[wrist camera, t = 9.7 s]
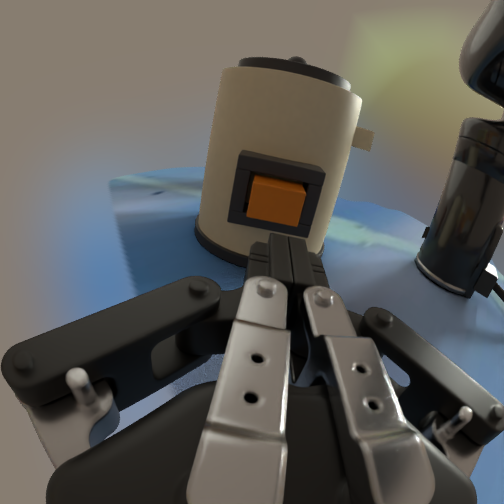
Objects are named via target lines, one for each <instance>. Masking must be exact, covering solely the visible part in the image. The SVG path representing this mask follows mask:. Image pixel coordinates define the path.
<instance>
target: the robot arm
mask: <svg viewBox="0 0 504 504" xmlns="http://www.w3.org/2000/svg"><path fill="white" fill-rule="evenodd" d="M459 69H460V74H461V77H462V79H463V81H464V83H465V84H466V85H467V86H468V87H469V88H470V89H472V90H473V91H475V92H476V93H478V94H479V95H481V96H483V97H485V98H487V99H489V100H490V101H492V102H494V103H496V104H498V105H499V106H501V107H503V108H504V0H491V1H490V3H489V4H488V6H487V7H486V9H485V11H484V12H483V14H482V15H481V16H480V18H479V19H478V21H477V22H476V24H475V25H474V26H473V28H472V30H471V31H470V33H469V34H468V36H467V38H466V40H465V42H464V44H463V47H462V50H461V54H460V59H459ZM503 221H504V112H503V115H502V118H501V119H499V120H488V119H482V118H473V117H472V118H466V119H464V120H463V122H462V124H461V128H460V133H459V138H458V141H457V145H456V149H455V152H454V156H453V160H452V163H451V167H450V170H449V173H448V176H447V180H446V183H445V186H444V189H443V192H442V195H441V198H440V201H439V203H438V206H437V209H436V212H435V214H434V217H433V220H432V222H431V225H430V227H426V229H425V231H424V234H423V236H422V238H425V240H424V242H423V244H422V246H421V248H420V251H419V252H418V254H417V256H416V258H415V262H416V264H417V266H418V268H419V269H420V270H421V271H422V272H423V273H424V274H425V275H426V276H427V277H428V278H430V279H431V280H432V281H434V282H435V283H436V284H438V285H440V286H441V287H443V288H445V289H447V290H449V291H451V292H454V293H457V294H461V295H464V296H466V297H468V298H469V299H470V298H471V296H472V295H473V293H474V291H477V292H478V293H480V294H481V295H483V296H485V297H486V298H488V296H489V294H490V292H491V291H492V289H493V290H494V291H495V292H496V294H497V295H498V296H499V297H500V298H501V299H502V301H503V302H504V290H503V289H502V288H501V287H500V286H499V285H498V283H497V282H496V281H497V280H498V276H497V272H496V268H495V267H494V266H492V265H490V264H489V262H490V260H491V258H492V256H493V254H494V251H495V249H496V247H497V244H498V242H499V240H500V237H501V235H502V233H503V228H502V227H501V226H502V223H503ZM213 354H225V355H224V358H223V362H222V366H221V369H220V373H219V376H218V380H217V381H210V382H206V383H202V384H199V385H196V386H193V387H191V388H189V389H186V390H184V391H183V392H181V393H179V394H178V395H176V396H175V397H173V398H172V399H170V400H169V401H167V402H166V403H164V404H163V405H161V406H160V407H158V408H157V409H155V410H154V411H152V412H150V413H149V414H147V415H146V416H144V417H143V418H141V419H139V420H138V421H136V422H134V423H133V424H131V425H129V426H128V427H126V428H125V429H123V430H121V431H120V432H118V433H116V434H114V435H113V436H111V437H109V438H107V439H106V440H104V439H105V438H106V437H107V436H109V435H110V434H111V433H113V432H114V431H115V429H116V428H117V427H118V425H119V421H120V414H119V412H120V411H122V410H124V409H125V408H127V407H129V406H131V405H133V404H135V403H136V402H138V401H140V400H142V399H144V398H146V397H147V396H149V395H151V394H153V393H155V392H156V391H158V390H160V389H162V388H163V387H165V386H167V385H168V384H170V383H172V382H174V381H175V380H177V379H179V378H180V377H182V376H184V375H185V374H187V373H189V372H190V371H192V370H194V369H195V368H197V367H198V366H200V365H202V364H203V363H205V362H206V361H208V360H209V359H210V358H211V356H212V355H213ZM384 354H385V355H386V356H387V357H388V358H389V359H391V360H392V361H393V362H394V363H395V364H396V365H398V366H399V367H400V368H401V369H402V370H404V371H405V372H406V373H407V374H408V375H409V377H410V385H409V386H407V387H402V386H400V385H398V384H397V383H396V382H395V381H394V380H393V379H392V378H390V377H389V376H388V374H387V371H386V369H385V366H384V364H383V362H382V359H381V358H382V357H383V355H384ZM1 371H2V375H3V376H4V378H5V379H6V381H7V383H8V384H9V386H10V387H11V389H12V390H13V391H14V393H15V395H16V397H17V399H18V400H19V402H20V403H21V404H22V405H23V407H24V408H25V409H26V410H27V412H28V414H29V417H30V419H31V421H32V424H33V426H34V428H35V430H36V433H37V435H38V437H39V439H40V441H41V443H42V445H43V447H44V449H45V451H46V453H47V455H48V457H49V458H50V460H51V462H52V464H53V466H54V467H55V469H56V470H55V472H54V473H53V475H52V476H51V478H50V480H49V483H48V486H47V490H46V504H477V495H476V490H475V487H474V485H473V483H472V481H471V480H470V476H471V474H472V472H473V470H474V467H475V465H476V463H477V461H478V459H479V456H480V454H481V452H482V449H483V447H484V446H485V445H486V444H488V443H489V442H490V441H491V440H493V439H494V438H495V437H496V436H498V435H499V434H500V433H501V432H502V431H503V430H504V406H503V405H502V404H501V403H500V402H499V401H498V400H497V399H496V398H495V397H493V396H492V395H491V394H490V393H489V392H488V391H487V390H485V389H484V388H483V387H482V386H481V385H480V384H478V383H477V382H476V381H475V380H474V379H472V378H471V377H470V376H469V375H468V374H467V373H465V372H464V371H463V370H462V369H461V368H459V367H458V366H457V365H456V364H455V363H453V362H452V361H451V360H450V359H448V358H447V357H446V356H445V355H444V354H442V353H441V352H440V351H439V350H437V349H436V348H435V347H434V346H432V345H431V344H430V343H429V342H427V341H426V340H425V339H424V338H422V337H421V336H420V335H419V334H417V333H416V332H415V331H414V330H412V329H411V328H410V327H409V326H407V325H406V324H405V323H403V322H402V321H401V320H400V319H398V318H397V317H396V316H394V315H393V314H392V313H390V312H389V311H387V310H385V309H382V308H378V307H371V308H368V309H367V310H366V312H365V314H364V316H362V315H359V314H356V313H354V312H351V311H349V310H346V308H345V305H344V303H343V300H342V299H341V297H340V296H339V295H338V294H337V293H336V292H334V291H333V290H331V289H330V288H329V284H328V281H327V277H326V274H325V271H324V268H323V264H322V261H321V259H320V258H319V257H318V256H317V255H316V254H315V253H314V252H309V251H308V249H307V245H306V241H305V239H300V238H296V237H291V236H288V237H287V236H285V235H280V234H275V233H270V235H269V239H268V243H263V242H258V241H256V242H255V243H254V244H253V245H251V247H250V252H249V257H248V262H247V266H246V271H245V276H244V283H243V286H242V287H240V288H238V289H235V290H230V291H221V288H220V286H219V285H218V284H217V283H216V282H215V281H213V280H211V279H209V278H206V277H201V276H190V277H186V278H183V279H180V280H178V281H175V282H173V283H170V284H168V285H165V286H162V287H160V288H157V289H155V290H152V291H150V292H147V293H145V294H142V295H140V296H137V297H134V298H132V299H129V300H127V301H124V302H122V303H119V304H117V305H114V306H112V307H109V308H106V309H104V310H101V311H99V312H97V313H94V314H91V315H89V316H86V317H84V318H81V319H79V320H76V321H74V322H71V323H68V324H66V325H64V326H61V327H58V328H56V329H53V330H51V331H48V332H46V333H43V334H40V335H38V336H35V337H33V338H30V339H28V340H25V341H23V342H20V343H18V344H16V345H14V346H12V347H11V348H10V349H9V350H8V351H7V352H6V353H5V355H4V357H3V359H2V363H1Z"/></svg>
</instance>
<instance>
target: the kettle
mask: <svg viewBox="0 0 504 504" xmlns="http://www.w3.org/2000/svg"><path fill="white" fill-rule="evenodd" d="M350 87H351V85H350V83H349V82H348V81H347V80H345V79H344V78H342V77H340V76H338V75H336V74H334V73H331V72H329V71H326V70H324V69H321V68H318V67H315V66H311V65H308V64H307V63H306V61H305V60H304V59H303V58H301V57H297V56H296V57H291V58H290V59H288V60H284V59H277V58H268V57H249V58H243V59H241V60H240V61H239V65H238V67H229V68H225V69H223V71H222V76H221V81H220V86H219V91H218V96H217V101H216V107H215V112H214V119H213V125H212V130H211V135H210V142H209V148H208V155H207V161H206V167H205V174H204V181H203V188H202V196H201V204H200V211H199V215H198V216H197V218H196V220H195V229H194V232H195V236H196V238H197V240H198V241H199V242H200V244H201V245H202V246H203V247H204V248H205V249H207V250H208V251H209V252H211V253H212V254H214V255H216V256H217V257H219V258H221V259H223V260H225V261H228V262H230V263H233V264H236V265H239V266H242V267H245V268H246V266H247V262H248V257H249V252H250V247H251V245H253V244H254V243H255V242H256V241H258V242H263V243H268V239H269V235H270V233H275V234H280V235H285V236H287V237H288V236H291V237H296V238H300V239H305V241H306V245H307V249H308V251H309V252H314V253H315V254H316V255H317V256H318V257H319V258H320V259H321V256H322V253H323V250H324V242H323V241H324V238H325V235H326V232H327V229H328V225H329V222H330V219H331V216H332V213H333V209H334V206H335V203H336V199H337V196H338V192H339V189H340V186H341V182H342V179H343V175H344V171H345V167H346V164H347V160H348V157H349V153H350V149H351V146H353V147H357V148H360V149H363V150H366V151H370V149H371V145H372V142H373V138H374V134H375V133H374V132H372V131H370V130H366V129H363V128H361V127H358V126H356V125H357V121H358V117H359V113H360V109H361V104H362V99H361V98H360V97H358V96H357V95H355V94H354V93H352V92H350ZM255 174H257V175H262V176H267V177H272V178H277V179H281V180H286V181H291V182H295V183H299V184H302V186H303V188H304V190H305V193H306V196H305V200H304V204H303V207H302V211H301V215H300V218H299V222H298V226H297V227H294V226H290V225H285V224H280V223H275V222H270V221H265V220H260V219H255V218H250V217H247V216H246V215H247V210H248V205H249V200H250V195H251V190H252V185H253V180H254V175H255Z"/></svg>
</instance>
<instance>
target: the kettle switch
mask: <svg viewBox="0 0 504 504" xmlns="http://www.w3.org/2000/svg"><path fill="white" fill-rule="evenodd" d="M305 196H306V193H305V190H304V188H303V186H302V184H299V183H295V182H291V181H286V180H281V179H277V178H272V177H267V176H262V175H257V174H255V175H254V180H253V185H252V190H251V195H250V200H249V205H248V210H247V215H246V216H247V217H250V218H255V219H260V220H265V221H270V222H275V223H280V224H285V225H290V226H294V227H297V226H298V222H299V218H300V215H301V211H302V207H303V204H304V200H305Z"/></svg>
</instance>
